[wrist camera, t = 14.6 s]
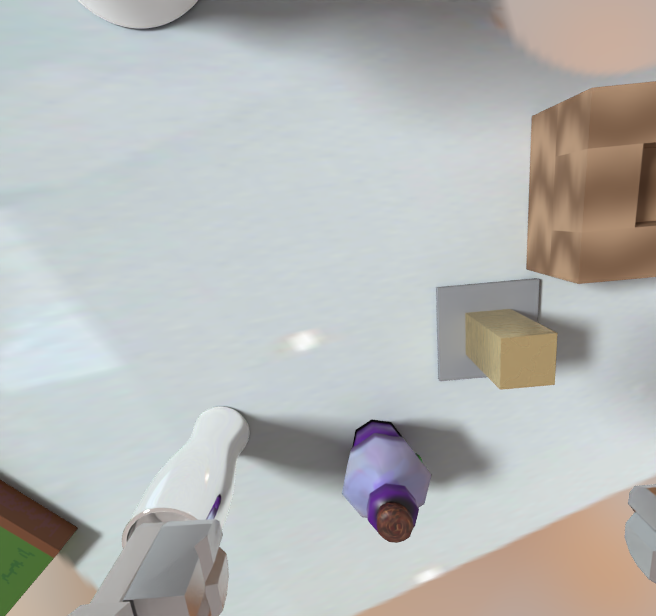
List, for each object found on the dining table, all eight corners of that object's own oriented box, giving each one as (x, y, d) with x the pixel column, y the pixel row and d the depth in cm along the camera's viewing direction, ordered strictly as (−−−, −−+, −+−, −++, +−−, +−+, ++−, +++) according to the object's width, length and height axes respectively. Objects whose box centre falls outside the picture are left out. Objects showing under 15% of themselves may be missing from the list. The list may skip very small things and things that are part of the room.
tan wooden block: (465, 312, 38) (500, 338, 30) (510, 308, 38) (557, 333, 30) (465, 354, 39) (499, 389, 31) (509, 350, 39) (554, 384, 31)
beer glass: (236, 393, 41) (187, 492, 26) (264, 445, 42) (231, 566, 28) (179, 415, 41) (100, 525, 27) (208, 466, 43) (148, 595, 28)
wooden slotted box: (531, 116, 34) (592, 87, 26) (688, 100, 34) (795, 67, 26) (526, 269, 38) (578, 283, 30) (668, 256, 37) (758, 267, 30)
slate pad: (436, 287, 38) (437, 288, 37) (536, 278, 38) (539, 279, 37) (438, 378, 40) (439, 381, 40) (532, 370, 40) (535, 372, 40)
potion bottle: (421, 465, 43) (457, 559, 31) (348, 481, 44) (356, 579, 32) (407, 398, 41) (439, 472, 29) (330, 416, 42) (331, 495, 30)
